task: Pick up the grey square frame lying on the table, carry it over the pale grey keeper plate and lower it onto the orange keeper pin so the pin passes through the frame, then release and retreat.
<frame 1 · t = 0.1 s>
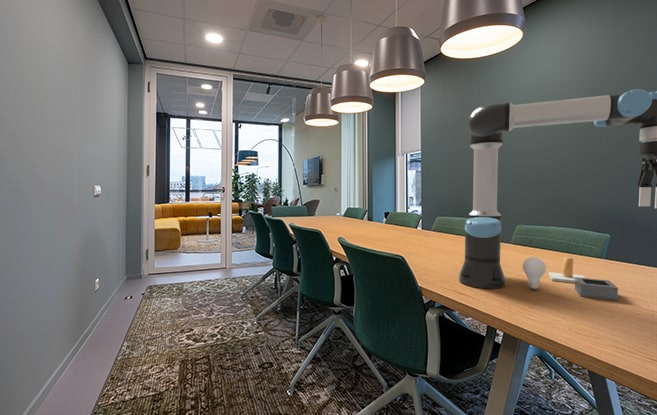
hand: (652, 207, 105), 28 cm above the table, fingers open, 13 cm apart
keeper: (567, 279, 122), on the table
light bulb: (533, 290, 110), on the table
grey square frame: (594, 294, 104), on the table
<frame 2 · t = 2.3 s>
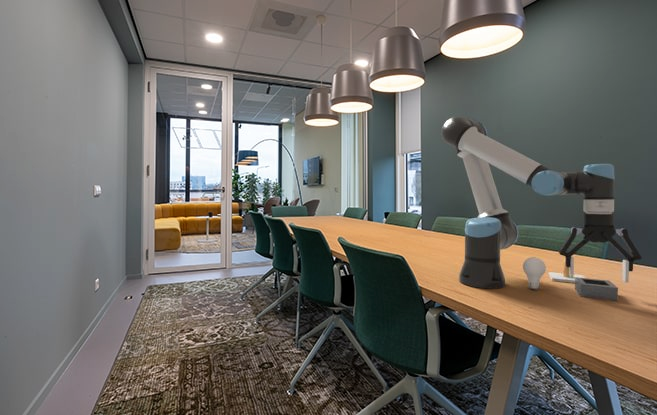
hand: (597, 279, 104), 5 cm above the table, fingers open, 13 cm apart
nothing on the table moved.
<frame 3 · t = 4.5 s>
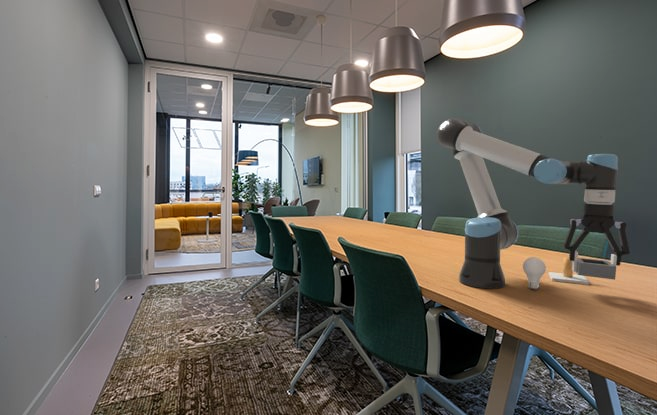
hand: (592, 272, 105), 7 cm above the table, fingers closed on grey square frame, 9 cm apart
grey square frame: (592, 273, 105), point 7 cm above the table, touching gripper
everything else where it was.
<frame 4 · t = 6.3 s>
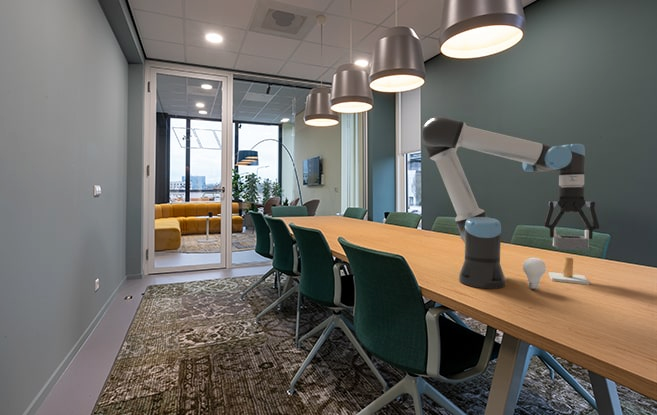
hand: (570, 246, 121), 12 cm above the table, fingers closed on grey square frame, 9 cm apart
grey square frame: (570, 247, 121), point 12 cm above the table, touching gripper
everything else where it was.
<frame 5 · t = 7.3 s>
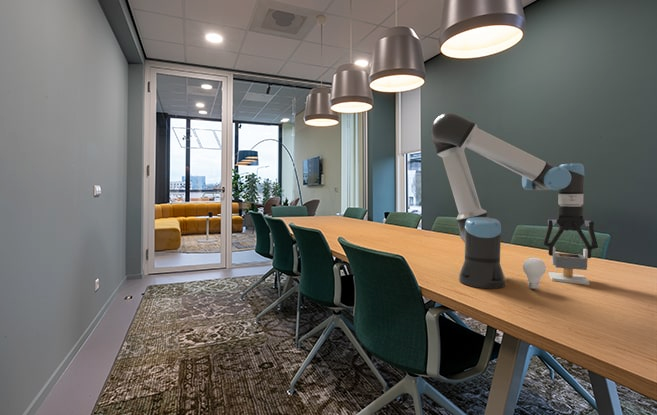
hand: (568, 265, 122), 5 cm above the table, fingers closed on grey square frame, 9 cm apart
grey square frame: (568, 266, 122), point 5 cm above the table, touching gripper
everything else where it was.
when the fingers open (3 cm above the table, at t = 8.1 s): grey square frame drops 2 cm, resting on keeper.
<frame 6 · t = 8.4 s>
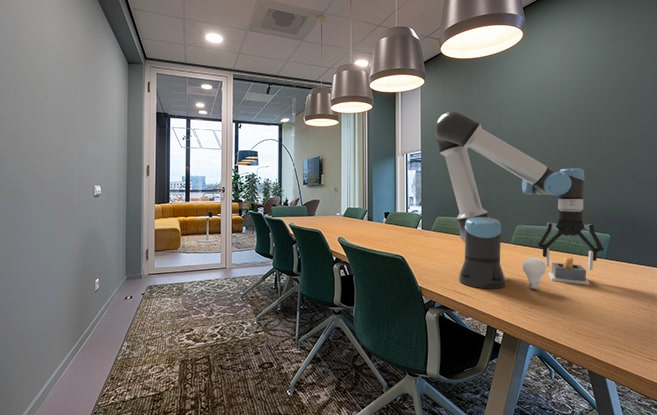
hand: (568, 267, 122), 5 cm above the table, fingers open, 12 cm apart
grey square frame: (567, 276, 122), point 1 cm above the table, touching keeper
everything else where it was.
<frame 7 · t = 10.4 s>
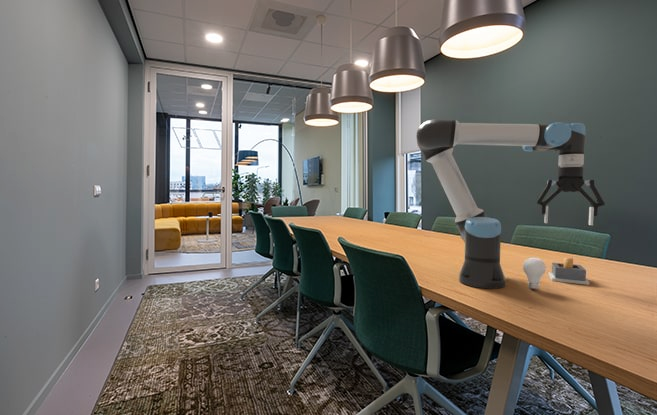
hand: (567, 224, 121), 21 cm above the table, fingers open, 13 cm apart
nothing on the table moved.
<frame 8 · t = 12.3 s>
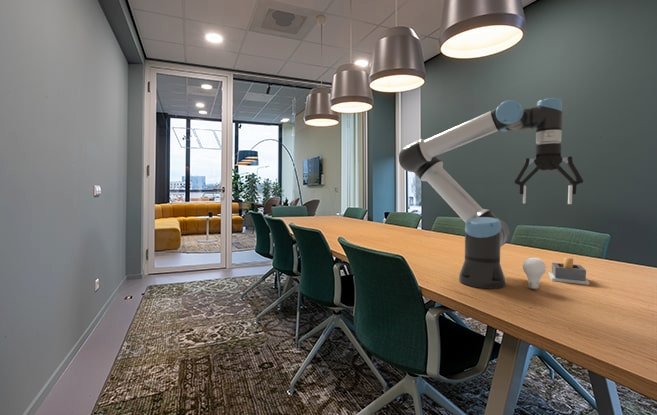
hand: (546, 203, 116), 29 cm above the table, fingers open, 13 cm apart
nothing on the table moved.
at the end: grey square frame 0.0 cm off-centre on the keeper, point 1.0 cm above the keeper's base; the gripper is holding nothing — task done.
